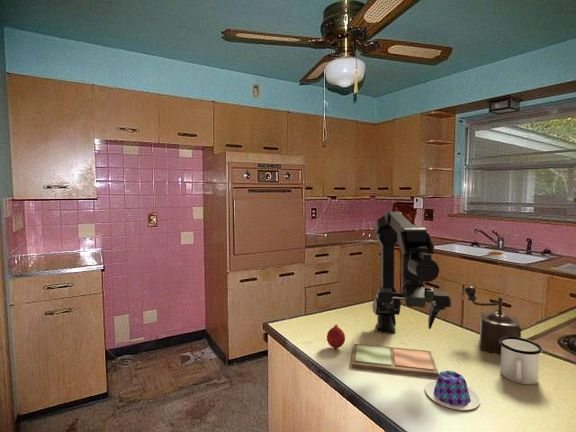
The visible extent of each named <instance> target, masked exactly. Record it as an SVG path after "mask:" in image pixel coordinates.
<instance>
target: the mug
mask: <svg viewBox="0 0 576 432" xmlns="http://www.w3.org/2000/svg"><path fill="white" fill-rule="evenodd" d="M499 343H500V345H501V355H500V368H499V369H500V373H501V375H502V376H503V377H505V378H506V379H508V380H510V381H512V382H515V383H518V384H522V385H536V384H537V383H538V382H539V376H540V375H539V372H540V370H539V369H540V354H541V353H542V352H543V348H542V346H541V345H540V344H538V343H537V342H535V341H533V340H531V339H528V338H525V337H521V338H520V337H513V336H506V337H502V338H500V339H499Z"/></svg>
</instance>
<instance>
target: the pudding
mask: <svg viewBox="0 0 576 432" xmlns="http://www.w3.org/2000/svg"><path fill="white" fill-rule="evenodd" d="M438 373H439V376H438V378H437V379H436V380H432V381H429V382H427V384H425V387H424V388H425V389H424V390H425V393H426V394H427V396H428V397H429V398H430V399H431V400H433V401H434V402H435V403H437V404H439V405H441V406H444V407H446V408H449V409H453V410H460V411H467V410H468V411H469V410H474V409H476V408H477V407H479V405H480V402H481V400H480V397H479V395H478V394H477V393H476V392H475V391H474V390H473V389H471V388H469V387H468V384H467V380H466V379H465V377H464V376H463V375H462V374H460V373H458V372H455V371H452V370H451V371H450V370H444V371H440V372H438ZM468 403H469V404H468Z"/></svg>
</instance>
